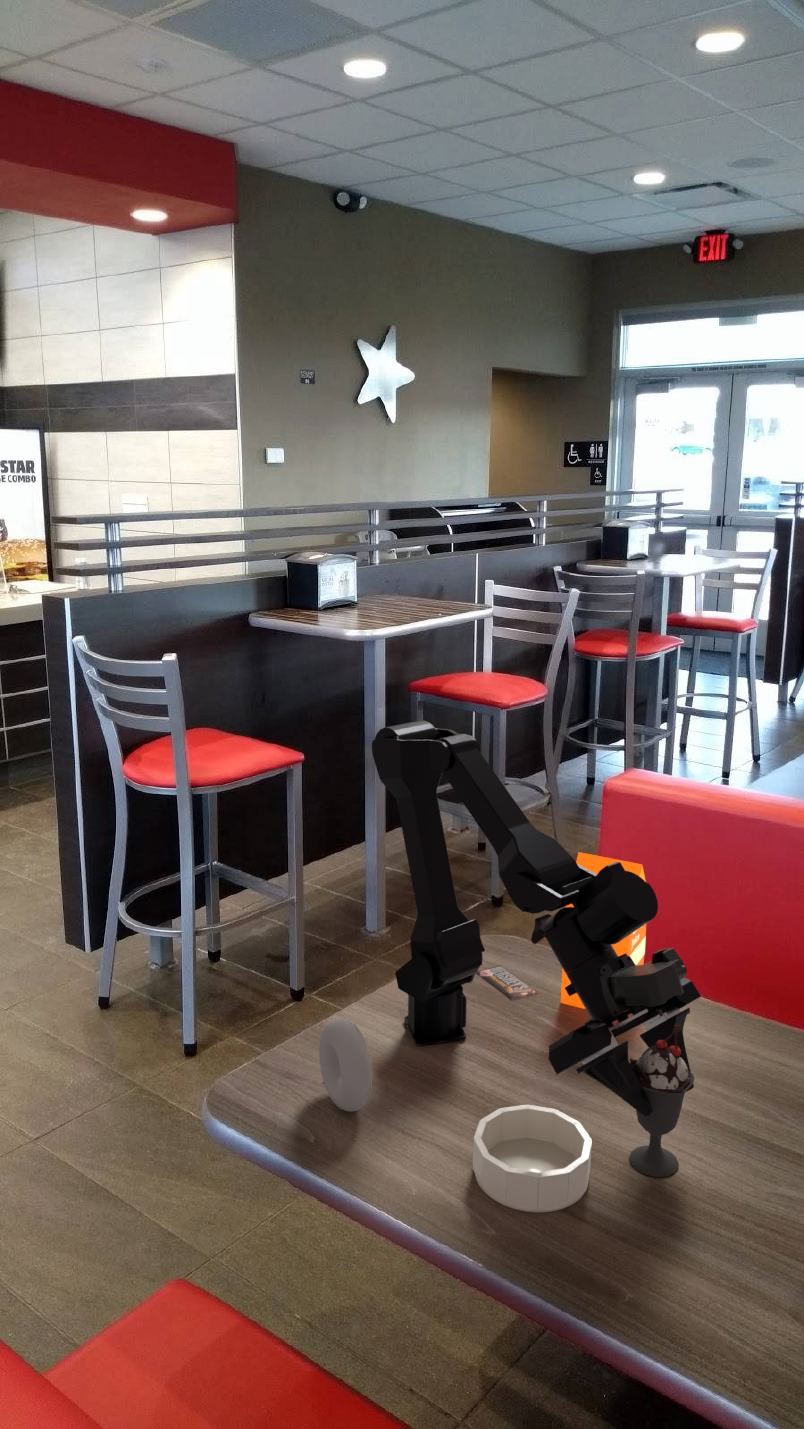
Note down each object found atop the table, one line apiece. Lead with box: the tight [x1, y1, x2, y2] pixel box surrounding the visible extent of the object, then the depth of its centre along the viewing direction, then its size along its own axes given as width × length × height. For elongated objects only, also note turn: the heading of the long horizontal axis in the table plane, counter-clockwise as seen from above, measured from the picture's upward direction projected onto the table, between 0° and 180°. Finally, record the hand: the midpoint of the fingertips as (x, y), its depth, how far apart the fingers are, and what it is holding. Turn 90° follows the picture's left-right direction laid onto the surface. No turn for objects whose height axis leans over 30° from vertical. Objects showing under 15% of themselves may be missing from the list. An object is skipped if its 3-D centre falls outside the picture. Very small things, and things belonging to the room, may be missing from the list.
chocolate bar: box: [475, 963, 542, 1002], centre depth 148 cm, size 11×5×1 cm, turn 29°
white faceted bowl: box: [472, 1104, 593, 1214], centre depth 108 cm, size 11×11×4 cm
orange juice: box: [560, 851, 647, 1010], centre depth 141 cm, size 8×9×20 cm
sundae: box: [628, 1025, 695, 1178], centre depth 109 cm, size 7×7×15 cm
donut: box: [318, 1017, 373, 1113], centre depth 118 cm, size 10×4×10 cm, turn 25°
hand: (670, 1102), depth 107 cm, fingers closed on sundae, 6 cm apart
